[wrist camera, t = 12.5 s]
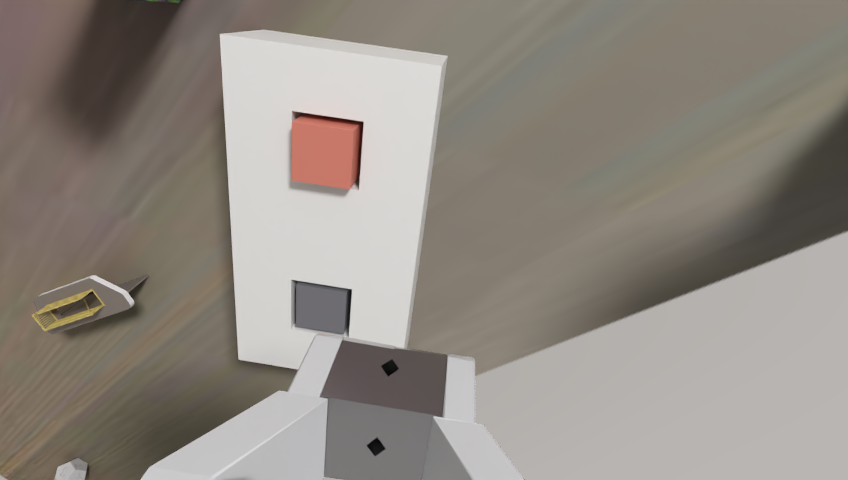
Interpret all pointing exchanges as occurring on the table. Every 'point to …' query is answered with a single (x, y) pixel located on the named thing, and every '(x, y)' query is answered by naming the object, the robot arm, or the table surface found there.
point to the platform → (83, 303)
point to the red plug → (326, 150)
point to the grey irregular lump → (72, 470)
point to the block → (324, 205)
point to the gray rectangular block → (322, 307)
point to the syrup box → (162, 0)
